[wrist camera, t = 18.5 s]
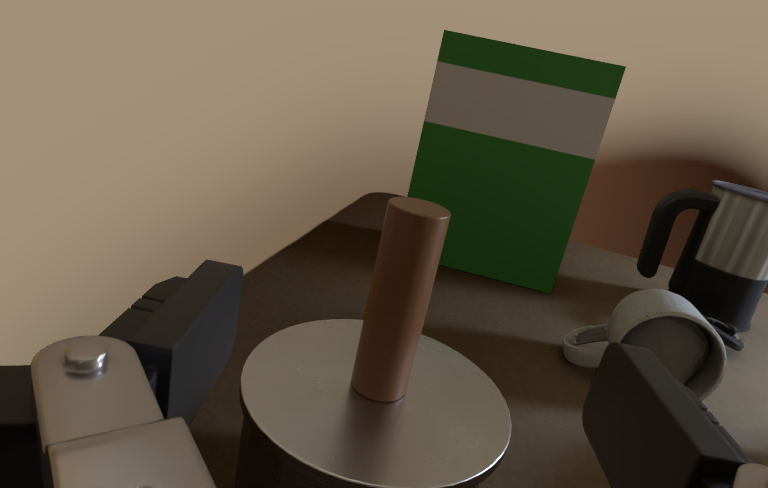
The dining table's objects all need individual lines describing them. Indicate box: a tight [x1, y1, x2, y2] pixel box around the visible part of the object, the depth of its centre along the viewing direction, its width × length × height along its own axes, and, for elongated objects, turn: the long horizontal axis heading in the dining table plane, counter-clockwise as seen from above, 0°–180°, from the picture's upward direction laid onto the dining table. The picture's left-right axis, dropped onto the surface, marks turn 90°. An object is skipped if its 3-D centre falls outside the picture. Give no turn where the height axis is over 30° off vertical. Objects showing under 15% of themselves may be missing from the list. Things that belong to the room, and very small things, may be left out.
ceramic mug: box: [562, 289, 727, 401], centre depth 43 cm, size 11×8×8 cm
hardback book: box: [408, 30, 626, 294], centre depth 60 cm, size 18×7×24 cm, turn 78°
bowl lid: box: [239, 197, 511, 488], centre depth 22 cm, size 11×11×9 cm
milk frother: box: [637, 180, 768, 351], centre depth 57 cm, size 14×16×15 cm
